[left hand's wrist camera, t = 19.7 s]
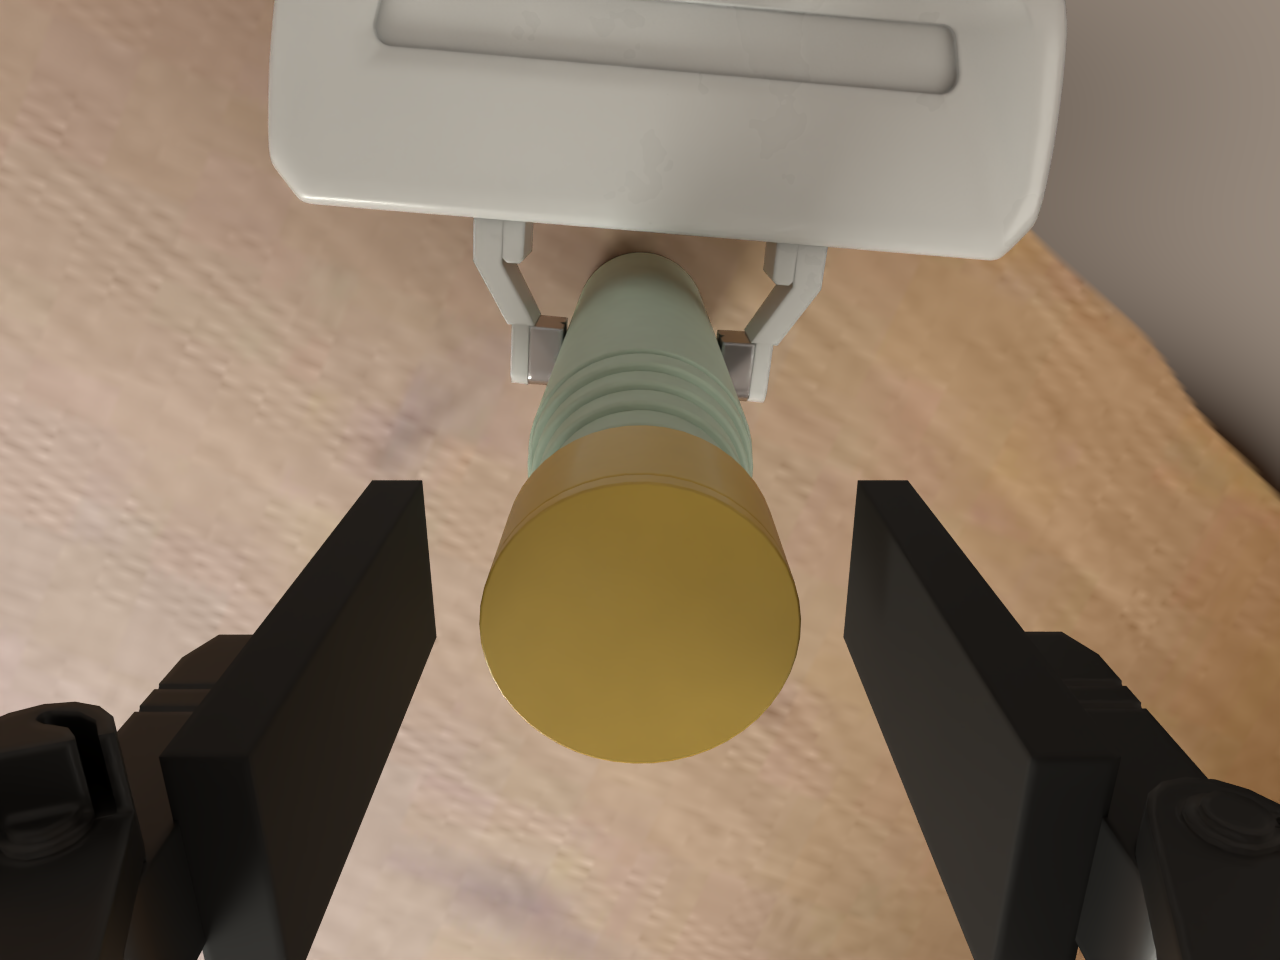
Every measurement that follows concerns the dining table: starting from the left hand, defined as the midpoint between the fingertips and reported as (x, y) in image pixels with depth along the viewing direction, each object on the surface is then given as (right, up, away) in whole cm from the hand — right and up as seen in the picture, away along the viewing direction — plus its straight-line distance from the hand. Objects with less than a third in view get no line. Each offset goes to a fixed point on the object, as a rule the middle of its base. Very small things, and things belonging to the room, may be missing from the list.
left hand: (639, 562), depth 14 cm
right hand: (0, +4, +13) cm, 14 cm away
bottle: (0, +7, +19) cm, 20 cm away
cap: (0, -1, -2) cm, 2 cm away
